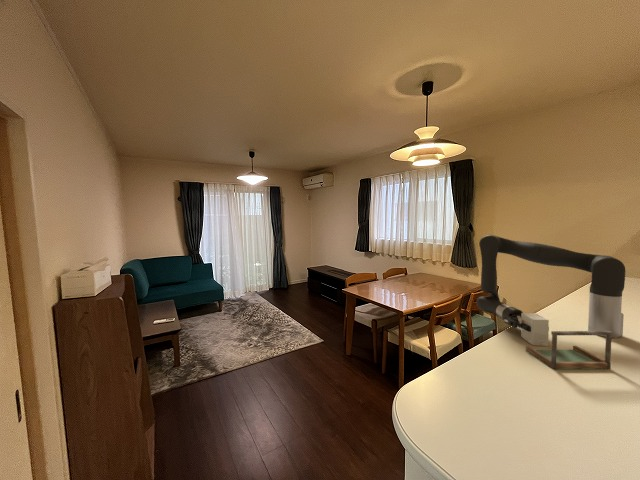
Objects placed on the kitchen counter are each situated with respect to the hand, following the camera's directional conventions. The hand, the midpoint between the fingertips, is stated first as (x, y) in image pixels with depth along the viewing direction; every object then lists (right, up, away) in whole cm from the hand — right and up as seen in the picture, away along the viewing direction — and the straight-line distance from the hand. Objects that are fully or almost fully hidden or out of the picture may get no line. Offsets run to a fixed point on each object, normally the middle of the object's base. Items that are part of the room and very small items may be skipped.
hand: (538, 329), depth 101 cm
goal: (0, -7, -11) cm, 13 cm away
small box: (0, -6, +3) cm, 7 cm away
